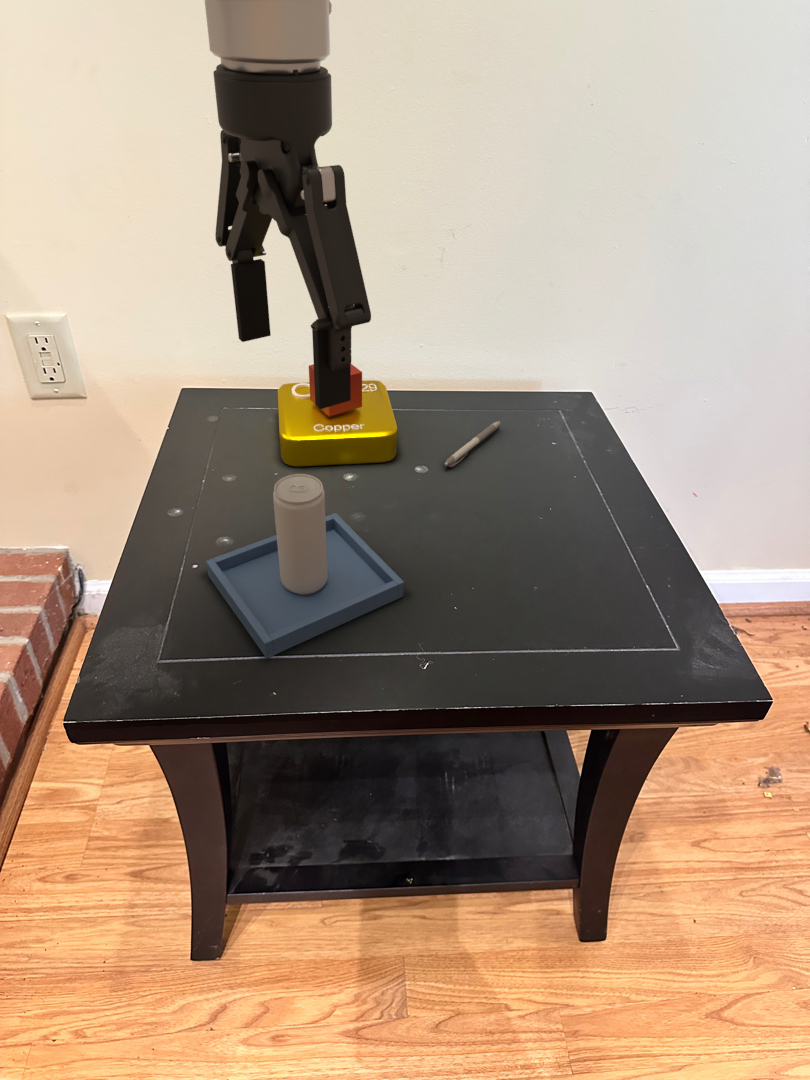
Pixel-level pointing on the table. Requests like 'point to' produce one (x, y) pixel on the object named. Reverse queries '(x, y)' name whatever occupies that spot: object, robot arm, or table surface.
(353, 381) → the red block
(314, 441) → the element tile
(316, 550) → the beverage can
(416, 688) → the table surface
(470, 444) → the pen
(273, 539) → the slate tray
